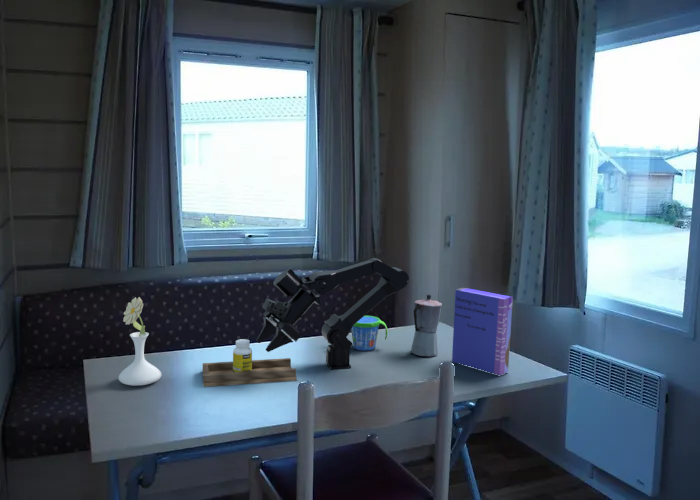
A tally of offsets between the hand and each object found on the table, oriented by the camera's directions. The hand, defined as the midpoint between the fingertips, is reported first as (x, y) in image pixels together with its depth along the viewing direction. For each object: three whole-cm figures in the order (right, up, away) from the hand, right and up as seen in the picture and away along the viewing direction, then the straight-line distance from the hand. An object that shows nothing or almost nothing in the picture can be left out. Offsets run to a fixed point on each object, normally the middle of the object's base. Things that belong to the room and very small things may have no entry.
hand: (262, 346), depth 177 cm
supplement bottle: (-5, -8, -1) cm, 10 cm away
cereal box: (+66, -9, +12) cm, 68 cm away
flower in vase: (-33, -9, -9) cm, 35 cm away
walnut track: (-4, -8, -1) cm, 9 cm away
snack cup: (+31, -5, +29) cm, 42 cm away
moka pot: (+51, -7, +24) cm, 56 cm away
